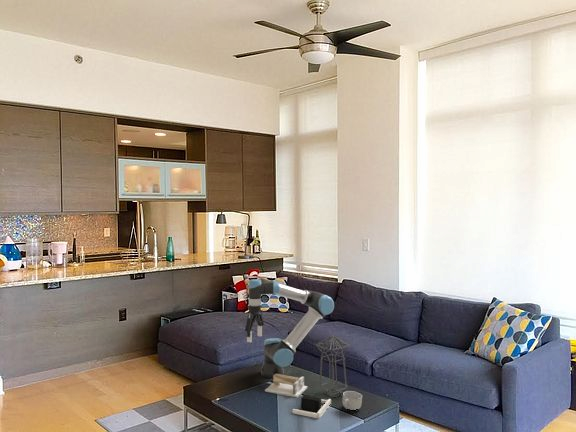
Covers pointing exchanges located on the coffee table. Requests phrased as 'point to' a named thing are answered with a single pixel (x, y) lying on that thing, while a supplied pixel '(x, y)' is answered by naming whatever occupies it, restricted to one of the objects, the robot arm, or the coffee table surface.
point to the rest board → (285, 390)
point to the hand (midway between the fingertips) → (254, 339)
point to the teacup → (352, 400)
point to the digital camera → (310, 403)
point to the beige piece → (289, 382)
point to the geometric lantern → (332, 361)
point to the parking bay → (314, 415)
